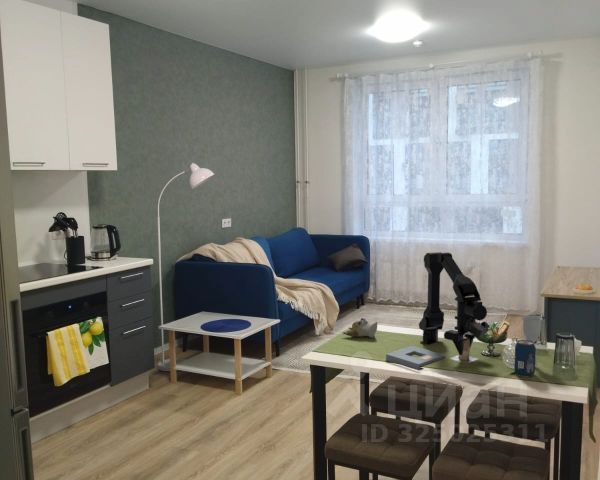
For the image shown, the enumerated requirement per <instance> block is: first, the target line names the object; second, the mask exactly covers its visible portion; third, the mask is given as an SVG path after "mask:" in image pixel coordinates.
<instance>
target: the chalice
mask: <svg viewBox="0 0 600 480" xmlns="http://www.w3.org/2000/svg"><path fill="white" fill-rule="evenodd" d="M521 317H522V331H523V335H524V337H525V340H529V341H532V342H534V343H535V342H536V341H537V339H538V337H539V336H540V334H541V331H542V321H543V319H544V318H543V317H541V316H538V315H522V316H521ZM537 364H538V363H537V359H536V358H535V365H537ZM537 366H538V365H537Z"/></svg>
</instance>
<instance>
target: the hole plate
mask: <svg viewBox="0 0 600 480" xmlns="http://www.w3.org/2000/svg"><path fill="white" fill-rule="evenodd" d="M411 355H417V356H418V357H415V356H411ZM445 356H446V355H445V354H443V353H439V352H437V351H432V350H430V349H429V350H428V349H425V348H422V347H418V346H414V345H410V346H407V347H403V348H401V349H398V350H397V349H396V350H395V351H391V352H389V353H386V354H385V361H386V362H390V363H394V364H397V365H400V366H404V367H406V368H409V369H413V370H415V371H419V372H420V371H421V370H423V369H424V370H425V367H424V368H423V367H422V366H425V365H428V364H431V363H433V362H436V361H439V360H441V359H444V358H446V357H445Z"/></svg>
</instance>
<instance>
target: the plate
mask: <svg viewBox="0 0 600 480" xmlns="http://www.w3.org/2000/svg"><path fill="white" fill-rule="evenodd" d="M449 360H452V361H456V362H460V363H463V364H466V365H467V364H469V363H472V362H476V361H477V360H479V358H477V357H473V356H470V355H469V360H460V359H459V354H457V355H455V356H452V357H449Z"/></svg>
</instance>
